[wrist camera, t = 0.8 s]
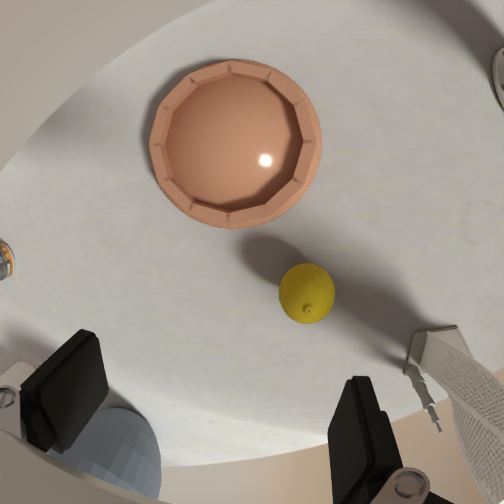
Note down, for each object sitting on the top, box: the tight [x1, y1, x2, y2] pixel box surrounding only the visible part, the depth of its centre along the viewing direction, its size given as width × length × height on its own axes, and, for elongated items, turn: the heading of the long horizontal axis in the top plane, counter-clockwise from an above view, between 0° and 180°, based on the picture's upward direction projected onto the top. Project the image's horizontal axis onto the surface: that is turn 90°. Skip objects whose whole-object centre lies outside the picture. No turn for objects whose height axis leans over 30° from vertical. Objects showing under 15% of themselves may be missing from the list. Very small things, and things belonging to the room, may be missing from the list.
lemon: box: [279, 263, 335, 324], centre depth 29 cm, size 6×6×8 cm
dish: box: [149, 60, 322, 229], centre depth 29 cm, size 18×18×2 cm
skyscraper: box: [404, 326, 504, 504], centre depth 21 cm, size 8×8×28 cm
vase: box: [48, 408, 161, 500], centre depth 33 cm, size 20×20×24 cm
